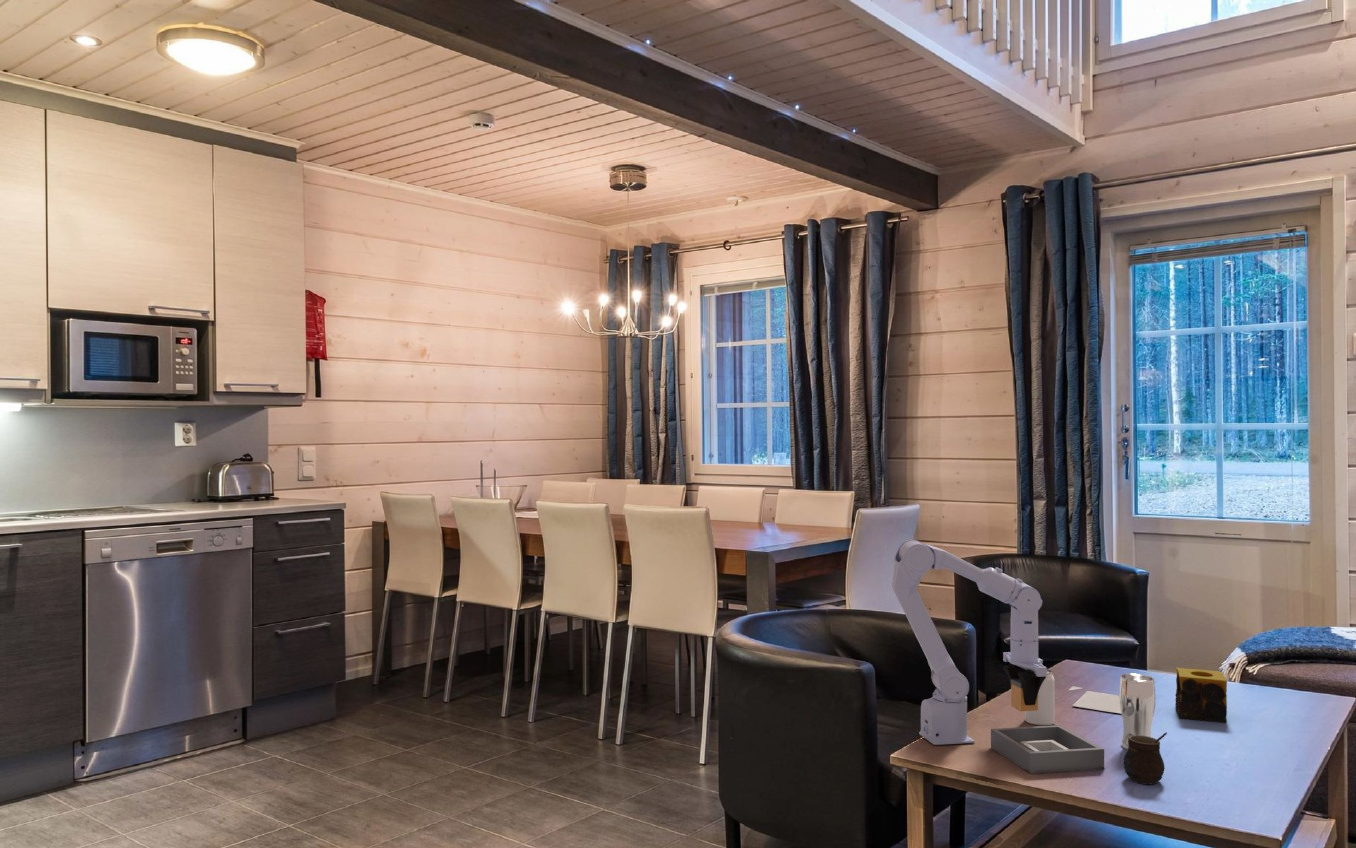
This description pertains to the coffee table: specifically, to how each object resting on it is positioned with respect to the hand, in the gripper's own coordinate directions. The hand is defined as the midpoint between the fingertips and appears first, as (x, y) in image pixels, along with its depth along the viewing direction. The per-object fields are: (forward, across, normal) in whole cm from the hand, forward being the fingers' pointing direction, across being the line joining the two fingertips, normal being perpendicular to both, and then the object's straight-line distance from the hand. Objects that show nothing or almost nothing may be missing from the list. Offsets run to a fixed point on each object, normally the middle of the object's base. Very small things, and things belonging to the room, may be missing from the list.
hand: (1024, 701), depth 212 cm
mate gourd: (+9, -26, -10) cm, 30 cm away
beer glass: (+9, -9, -21) cm, 24 cm away
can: (+9, +12, -10) cm, 18 cm away
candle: (+9, +10, -52) cm, 53 cm away
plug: (+1, 0, 0) cm, 1 cm away
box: (+8, -11, +2) cm, 14 cm away
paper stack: (+9, +28, -36) cm, 46 cm away
